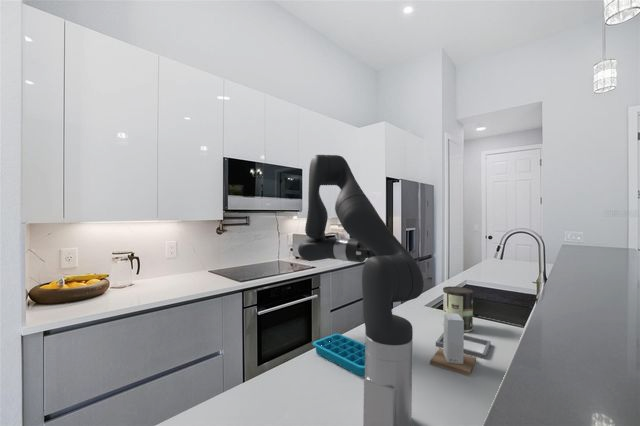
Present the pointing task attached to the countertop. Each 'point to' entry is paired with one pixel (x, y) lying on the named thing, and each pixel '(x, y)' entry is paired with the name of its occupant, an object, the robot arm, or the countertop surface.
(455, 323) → the skincare box
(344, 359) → the ice cube tray
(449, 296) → the coffee can
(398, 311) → the countertop surface
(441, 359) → the walnut board
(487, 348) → the grey flat rectangular frame
